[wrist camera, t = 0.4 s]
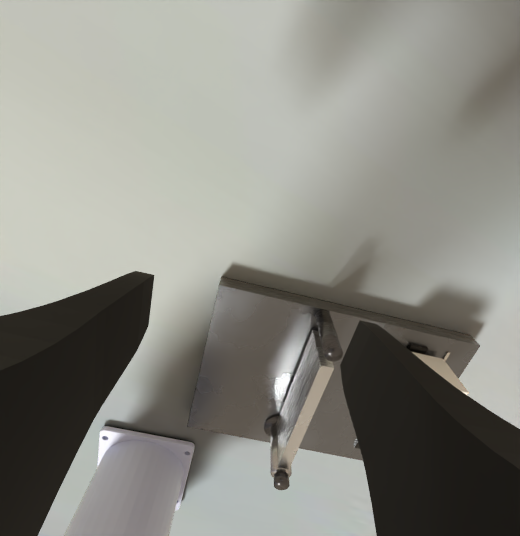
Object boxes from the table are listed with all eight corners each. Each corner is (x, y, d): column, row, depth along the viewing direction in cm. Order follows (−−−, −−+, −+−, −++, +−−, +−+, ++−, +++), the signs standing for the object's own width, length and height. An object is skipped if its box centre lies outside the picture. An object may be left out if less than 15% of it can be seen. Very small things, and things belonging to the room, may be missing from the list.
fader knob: (428, 383, 22) (450, 419, 20) (380, 372, 22) (396, 407, 19) (443, 358, 22) (469, 392, 19) (393, 347, 21) (412, 379, 19)
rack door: (285, 437, 25) (288, 481, 22) (268, 433, 25) (268, 477, 22) (328, 333, 21) (339, 369, 18) (308, 328, 21) (315, 364, 18)
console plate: (394, 454, 28) (423, 529, 23) (190, 414, 26) (171, 484, 21) (469, 335, 23) (530, 397, 17) (221, 276, 21) (206, 326, 16)
